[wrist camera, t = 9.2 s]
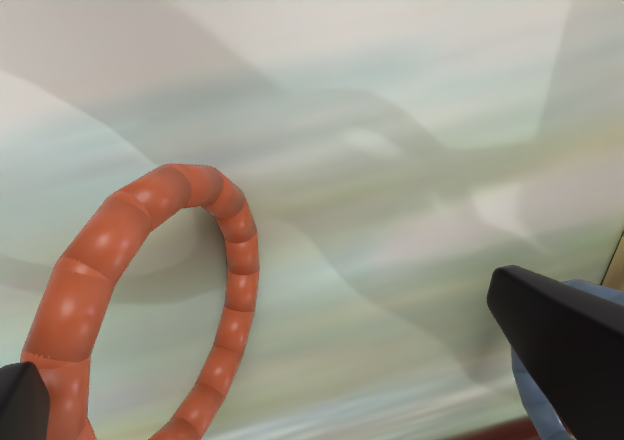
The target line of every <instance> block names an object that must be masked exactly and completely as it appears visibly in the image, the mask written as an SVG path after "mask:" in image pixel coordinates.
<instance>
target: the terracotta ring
mask: <svg viewBox="0 0 624 440" xmlns="http://www.w3.org/2000/svg"><path fill="white" fill-rule="evenodd" d="M198 206H201V207H202V208H204V209H205V210H207V211H208V212H210V213H211V214H213V215H214V217H215V219H216V221H217V223H218V225H219V227H220V229H221V231H222V233H223V235H224V240H225V248H226V256H227V264H228V274H227V284H226V293H225V303H224V309H223V312H222V316H221V319H220V323H219V326H218V330H217V333H216V337H215V340H214V344H213V347H212V349H211V351H210V353H209V355H208V358H207V360H206V362H205V364H204V366H203V368H202V370H201V373H200V375H199V377H198V379H197V381H196V383H195V385H194V387H193V388H192V390H191V391H190V392H189V394H188V395H187V397H186V398H185V399H184V401H183V402H182V404H181V405H180V407H179V408H178V409H177V411H176V412H175V414H174V415H173V417H172V418H171V419H170V421H169V422H168V423H166V424H165V425H164V426H163V427H162V428H161V429H160V430H159V431H157V432H156V433H155V434H154V435H153V436H152V437H151V438H150V439H148V440H201V438H202V436H203V435H204V433H205V431H206V430H207V428H208V427H209V425H210V423H211V422H212V420H213V418H214V417H215V415H216V413H217V412H218V410H219V408H220V407H221V405H222V403H223V402H224V400H225V397H226V395H227V393H228V390H229V388H230V385H231V383H232V381H233V378H234V376H235V373H236V371H237V369H238V366H239V364H240V362H241V359H242V357H243V354H244V350H245V346H246V342H247V339H248V335H249V331H250V327H251V323H252V320H253V316H254V312H255V305H256V296H257V287H258V278H259V270H260V266H259V253H258V240H257V229H256V225H255V223H254V220H253V217H252V215H251V212H250V209H249V206H248V204H247V201H246V198H245V196H244V194H243V192H242V191H241V190H240V189H239V188H238V187H236V186H235V185H234V184H233V183H232V182H231V181H230V180H229V179H228V178H226V177H225V176H224V175H223V174H222V173H221V172H220V171H219V170H217V169H216V168H214V167H211V166H207V165H186V164H165V165H162V166H160V167H158V168H156V169H154V170H152V171H151V172H149V173H147V174H145V175H144V176H142V177H140V178H139V179H137V180H135V181H133V182H132V183H130V184H128V185H127V186H125V187H123V188H121V189H120V190H118V191H116V192H114V193H113V194H111V195H110V196H109V197H108V198H107V199H106V200H105V201H104V202H103V204H102V205H101V206H100V207H99V209H98V210H97V211H96V212H95V214H94V215H93V216H92V217H91V219H90V220H89V221H88V223H87V224H86V225H85V226H84V228H83V229H82V230H81V231H80V233H79V234H78V235H77V236H76V238H75V239H74V240H73V242H72V243H71V244H70V245H69V247H68V248H67V249H66V250H65V252H64V253H63V254H62V255H61V257H60V258H59V259H58V261H57V262H56V264H55V266H54V268H53V271H52V274H51V276H50V279H49V281H48V284H47V287H46V289H45V292H44V294H43V297H42V300H41V302H40V305H39V307H38V310H37V312H36V315H35V318H34V320H33V323H32V325H31V328H30V331H29V333H28V336H27V338H26V341H25V344H24V346H23V349H22V352H21V358H20V362H25V361H31V362H33V363H34V364H35V365H36V367H37V369H38V371H39V373H40V375H41V377H42V379H43V381H44V383H45V385H46V388H47V390H48V392H49V395H50V412H49V421H48V429H47V437H46V440H97V439H96V436H95V434H94V431H93V429H92V427H91V424H90V422H89V419H88V417H87V414H88V396H89V377H90V358H91V353H92V350H93V347H94V344H95V341H96V338H97V336H98V333H99V330H100V327H101V324H102V321H103V318H104V315H105V313H106V310H107V307H108V304H109V301H110V298H111V295H112V292H113V289H114V287H115V284H116V283H117V281H118V280H119V278H120V277H121V275H122V274H123V272H124V271H125V269H126V268H127V266H128V265H129V263H130V262H131V260H132V259H133V257H134V256H135V254H136V253H137V251H138V250H139V248H140V247H141V245H142V244H143V242H144V241H145V239H146V238H147V236H148V235H149V233H150V232H152V231H153V230H154V229H155V228H157V227H158V226H159V225H161V224H162V223H163V222H165V221H166V220H167V219H169V218H170V217H171V216H172V215H174V214H175V213H176V212H178V211H179V210H180V209H182V208H190V207H198Z"/></svg>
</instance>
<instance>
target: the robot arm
mask: <svg viewBox="0 0 624 440" xmlns="http://www.w3.org/2000/svg"><path fill="white" fill-rule="evenodd" d="M487 304H488V307H489V309H490V311H491V313H492V314H493V316H494V318H495V319H496V321H497V323H498V324H499V326H500V328H501V329H502V331H503V333H504V334H505V336H506V338H507V339H508V341H509V343H510V344H511V346H512V348H513V349H514V351H515V353H516V354H517V356H518V358H519V359H520V361H521V363H522V364H523V366H524V367H525V369H526V370H527V372H528V373H529V375H530V376H531V377H532V379H533V380H534V382H535V383H536V384H537V386H538V387H539V388H540V390H541V391H542V393H543V394H544V395H545V397H546V398H547V399H548V401H549V402H550V403H551V405H552V406H553V408H554V409H555V410H556V412H557V413H558V414H559V416H560V417H561V418H562V420H563V421H564V423H565V424H566V425H567V427H568V428H569V429H570V431H571V432H572V434H573V435H574V436H575V438H576V439H577V440H624V306H622V305H619V304H617V303H614V302H611V301H609V300H606V299H603V298H601V297H598V296H595V295H593V294H590V293H587V292H585V291H582V290H579V289H577V288H574V287H571V286H569V285H566V284H564V283H561V282H558V281H556V280H553V279H550V278H548V277H545V276H542V275H540V274H537V273H534V272H532V271H529V270H526V269H524V268H521V267H518V266H515V265H509V266H504V267H499V268H497V269H495V270H494V272H493V274H492V278H491V282H490V286H489V290H488V293H487ZM49 412H50V395H49V392H48V390H47V388H46V385H45V383H44V381H43V379H42V377H41V375H40V373H39V371H38V369H37V367H36V365H35V364H34V363H33V362H31V361H25V362H20V363H15V364H10V365H6V366H3V367H2V368H0V440H46V437H47V429H48V421H49Z"/></svg>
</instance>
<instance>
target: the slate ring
mask: <svg viewBox="0 0 624 440" xmlns="http://www.w3.org/2000/svg"><path fill="white" fill-rule="evenodd" d="M561 283H564V284H566V285H569V286H571V287H574V288H577V289H579V290H582V291H585V292H587V293H590V294H593V295H595V296H598V297H601V298H603V299H606V300H609V301H611V302H614V303H617V304H619V305H622V306H624V292H622V291H619V290H616V289H612V288H609V287H605V286H601V285H598V284H594V283H591V282H587V281H584V280H571V281H565V282H561ZM511 355H512V370H513V373H514V377H515V380H516V383H517V387H518V390H519V393H520V396H521V400H522V403H523V406H524V408H525V410H526V412H527V413H528V415H529V417H530V419H531V421H532V423H533V425H534V427H535V428H536V430H537V432H538V434H539V436H540V438H541V440H574V439H573V438H572V437H571V436H570V435H569V434H568V433H567V431H566V430H565V428H564V426H563V424H562V423H561V421H560V419H559V417H558V416H557V414H556V412H555V410H554V409H553V407H552V405H551V403H550V402H549V401H548V399H547V398H546V397H545V395H544V394H543V393H542V391H541V390H540V388H539V387H538V386H537V384H536V383H535V382H534V380H533V379H532V377H531V376H530V375H529V373H528V372H527V370H526V369H525V367H524V366H523V364H522V363H521V361H520V359H519V358H518V356H517V354H516V353H515V351H514V349H513V348H512V346H511Z"/></svg>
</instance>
